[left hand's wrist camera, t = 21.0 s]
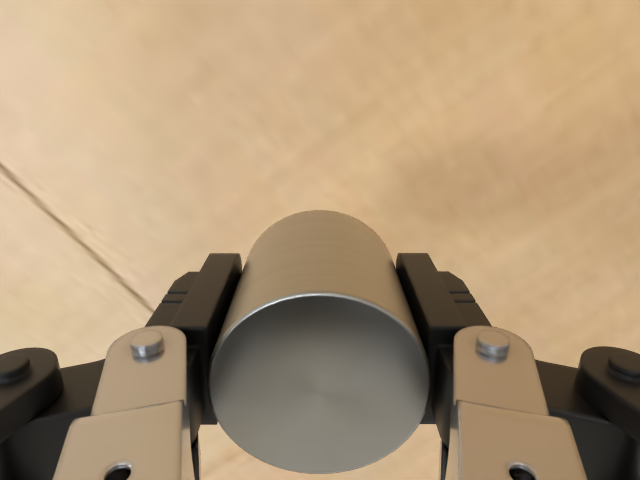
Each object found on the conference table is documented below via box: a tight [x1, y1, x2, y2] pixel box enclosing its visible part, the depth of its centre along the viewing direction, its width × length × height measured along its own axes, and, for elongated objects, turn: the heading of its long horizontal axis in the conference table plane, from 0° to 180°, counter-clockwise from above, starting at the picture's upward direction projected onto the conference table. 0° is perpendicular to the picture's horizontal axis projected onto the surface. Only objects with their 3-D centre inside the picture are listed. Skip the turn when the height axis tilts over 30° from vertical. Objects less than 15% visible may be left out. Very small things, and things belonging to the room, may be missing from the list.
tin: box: [207, 210, 432, 474], centre depth 10 cm, size 4×4×4 cm
